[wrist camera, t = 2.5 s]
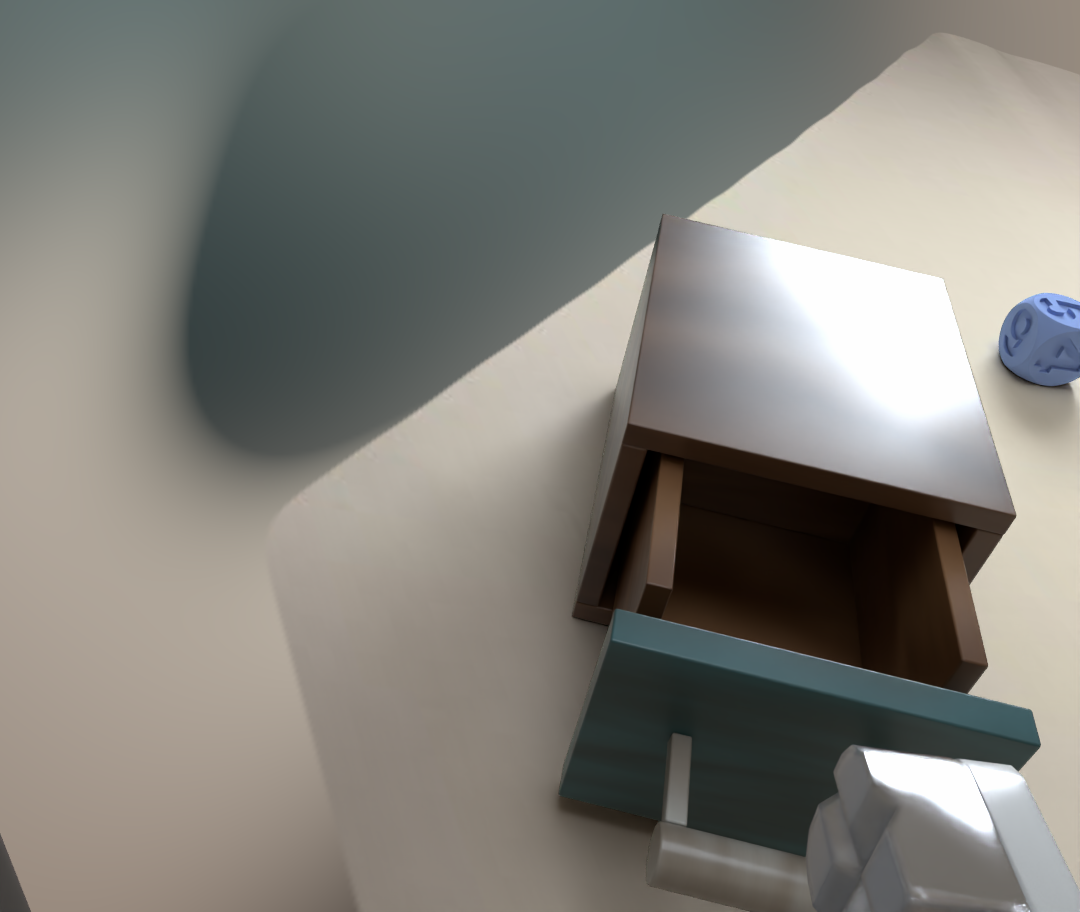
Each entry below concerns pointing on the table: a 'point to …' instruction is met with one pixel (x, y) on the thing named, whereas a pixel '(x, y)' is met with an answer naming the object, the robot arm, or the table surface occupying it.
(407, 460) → the table surface
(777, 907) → the drawer
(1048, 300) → the decorative dice
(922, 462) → the cabinet
